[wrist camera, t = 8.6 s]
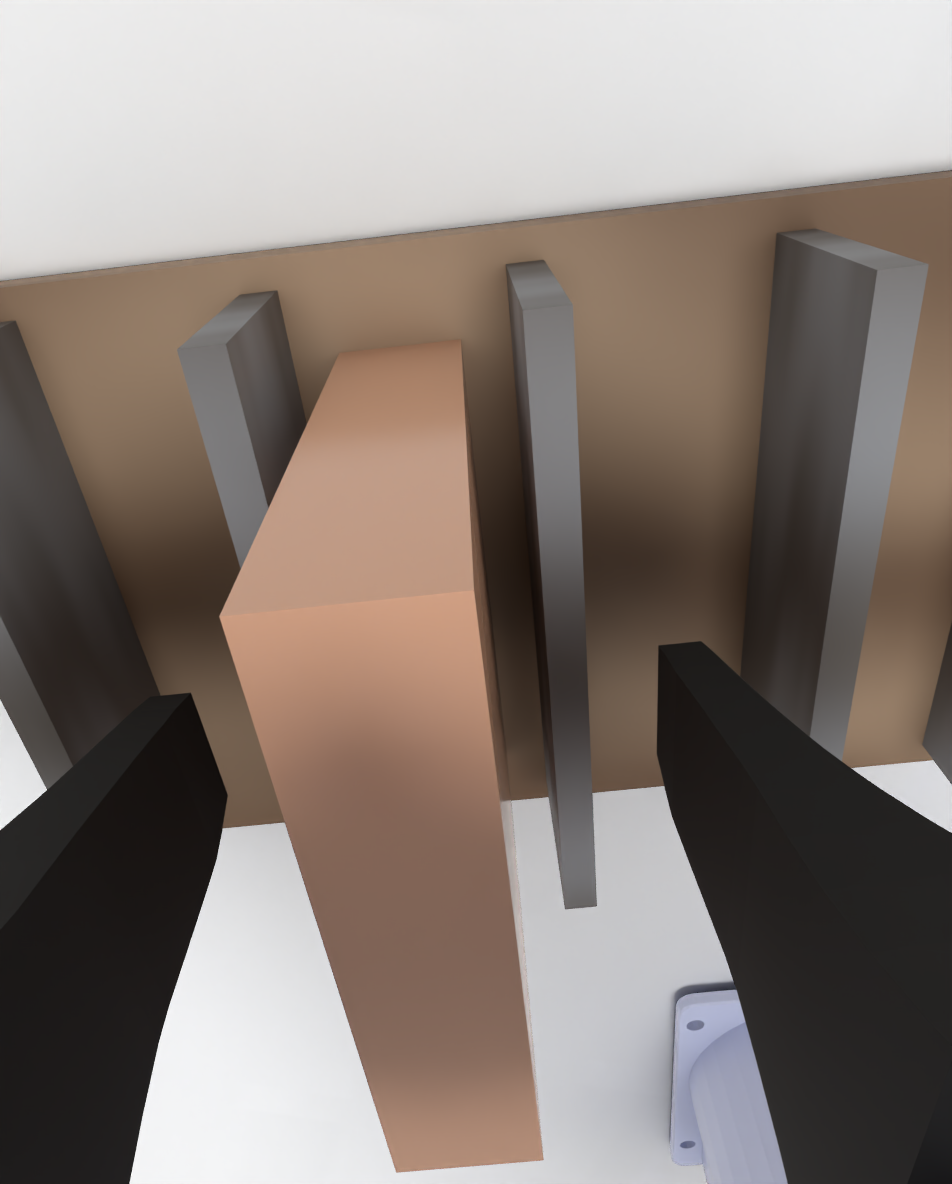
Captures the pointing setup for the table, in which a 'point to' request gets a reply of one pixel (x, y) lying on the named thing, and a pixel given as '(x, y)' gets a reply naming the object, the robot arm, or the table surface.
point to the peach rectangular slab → (397, 750)
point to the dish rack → (516, 473)
